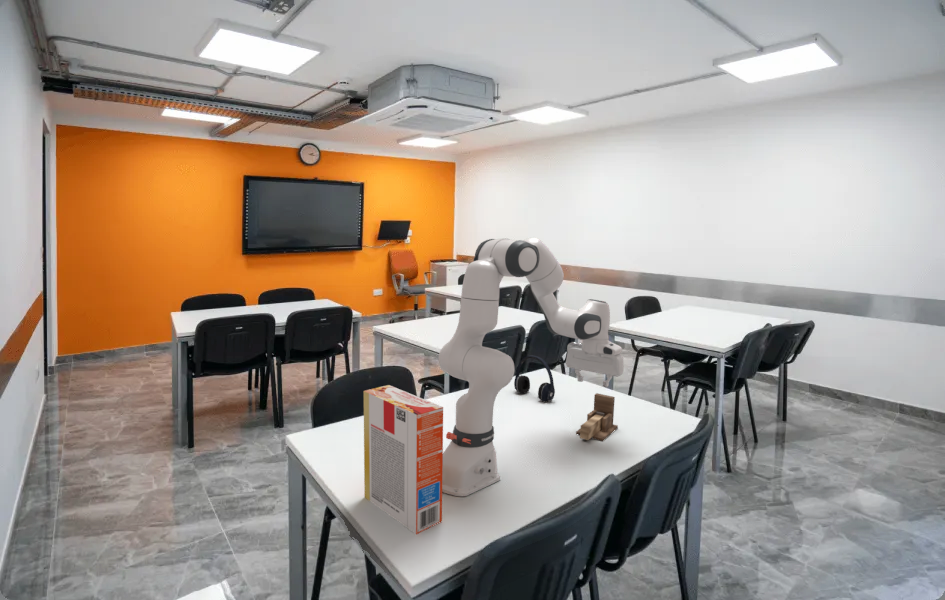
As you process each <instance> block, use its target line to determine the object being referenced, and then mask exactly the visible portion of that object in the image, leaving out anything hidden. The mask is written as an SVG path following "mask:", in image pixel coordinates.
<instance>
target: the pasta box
mask: <svg viewBox="0 0 945 600" xmlns="http://www.w3.org/2000/svg"><path fill="white" fill-rule="evenodd" d="M443 444H444V406H442V405H440V404H437V403H435V402H431V401H429V400H427V399H424V398H422V397H420V396H417V395H414V394H412V393H409V392H408V391H405V390H402V389H399V387H398V388H397V387H395V386H393V385H390V384H387V385H383V386H378V387H375V388H371V389H370V388H369V389H366V390H363V455H364V457H363V458H364V459H363V460H364V461H363V464H364V467H363V468H364V469H363V470H364V471H363V473H364V474H363V475H364V477H363V478H364V498H365V499H366V500H368V501H369V502H370V503H372V504H374V505H375V506H376V507H377V508H379V509H380V510H382V511H383V512H384V513H386V514H387V515H388V516H390V517H391V518H393V519H394V520H395V521H397V522H398V523H400V524H401V525H403V526H404V527H405V528H407V529H408V530H410V532H412V533H414V534H416V535H418V534H420V533H422V532H424V531H425V530H428V529H430V528H432V527H434V526H436V525H438V524H440V523H442V522H441V521H443V520H442V519H443V492H442V467H443V453H444V450H443V449H444V447H443V446H444V445H443ZM439 522H440V523H439ZM437 523H438V524H437ZM435 524H436V525H435ZM433 525H434V526H433ZM431 526H432V527H431ZM429 527H430V528H429Z"/></svg>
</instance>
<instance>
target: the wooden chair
mask: <svg viewBox="0 0 945 600" xmlns="http://www.w3.org/2000/svg"><path fill="white" fill-rule="evenodd" d="M593 397H594V398H593V399H594V400H593V410H592V411H590V412H589V413H587V416H586V421H588V420H589V419H590V418H592V417H593V416H594V415H596V412H601V413H605V415H604V417H603V420H602V429H601V430H600V431H599V432H598V433H596V434H595V435H594V436H593V437H591V438H590V439H592V438H593V440H596V439H597V441H600V442H604V441H605V440H606V439H607V438H608V437H609V436H610V435H612V434H613V433H614V432H615V431H616V430H617V429H618V427H619V426H618V425H617V424H614V417H615V416H614V414H615V398H616V397H615V396H611V395H607V394H602V393H598V392H596V393H595V394H594V396H593ZM614 430H615V431H614ZM613 431H614V432H613ZM612 432H613V433H612ZM611 433H612V434H611ZM577 434H578V435H577ZM575 435H577V436H580V428H579V429H577V430H576V431H575ZM604 439H605V440H604ZM603 440H604V441H603Z"/></svg>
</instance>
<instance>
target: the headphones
mask: <svg viewBox="0 0 945 600" xmlns="http://www.w3.org/2000/svg"><path fill="white" fill-rule="evenodd" d="M528 359H535V360H537V361H538V362H540V363H541V364H542V366H543V367H545V370H546V371H547V374H548V378H549V382H542V383H541V384H540V386H539V387H538V391H537V398H538V399H539V400H540V401H541V402H546V401H547V402H548V401H550V402H551V401H552V400H553V399H554V398H555V393H556V389H555V385H554V384H555V383H554V377H553V374H552V371H551V369H550V367H549V365H548V363H547V362H546V361H545V360H544V359H543V358H542V357H540V356H537V355H531V354H530V355H527V356H525V357H523V358H522V359H521V360H520V362H519V363H518V365H517V367H516V373H515V377H514V381H513V382H514V383H513V385H514V389H515V390H516V392H517V394H521V395H522V394H527V393H529V391H530V390H531V383H530V382H531V381H530V378H529V377H528V376H527V375H520V371H521V367H522V365H523V363H525V361H527V360H528Z"/></svg>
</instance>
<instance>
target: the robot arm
mask: <svg viewBox="0 0 945 600" xmlns="http://www.w3.org/2000/svg"><path fill="white" fill-rule="evenodd" d="M564 276H565V274H564V270H563V268H562V265H561V264H560V263H559V261H558V259H557V258H556V257H555V255H554V253H553V252H552V251H551V250H550V248H549V247H548V246H547V245H546V244H545V243H544V242H543V241H542V240H541V239H539V238H538V237H534V236H533V237H527V238H525V239H523V240H522V239H520V240H515V239H510V238H489V239H486V240H484V241H482V242H480V244H479V245H478V246H477V248H476V250H475V253H474V257H473V261H472V262H470V263H469V264H468V265H467V267H466V270H465V273H464V275H463V282H462V287H461V298H460V307H459V316H458V317H459V318H458V324H457V327H456V330H455V332H454V334H453V336H452V338H451V339H450V340H449V341H448V342H446V343H445V344H444V345H443V346H442V347H441V349H440V351H439V353H438V366H439V368H440V370H441V371H444V373H447V374H448V375H449V376H452V377H453V378H456V379H459V380H462V381H466V382H468V391H467V392H466V393H464V394H462V395H461V396H460V397H459V398H458V399H457V400H456V403H455V425H454V427H453V430H452V432H450V431H447V433H446V435H445V437H446V439H447V440H450V442H449V444H447V445H448V446H447V447H446V448H445V449H444V450H443V467H442V493H444V494H448V495H449V496H454V497H455V496H456V497H467V496H469V495H471V494H473V493H475V492H477V491H481V490H482V489H484V488H486V487H488V486H490V485H493V484H494V483H497V482H499V481H500V480H501V475H500V474H499V472H498V463H497V459H498V458H497V451H496V448H495V446H494V442H493V440H495V439H494V438H495V437H494V436H495V431H494V430H495V427H494V426H493V422H494V421H493V419H494V406H495V401H496V397H497V395H498V394H499V393H500V391H501V390H503V389H504V388H505V387H507V386H508V385H509V384H510V383H511V381H512V380H513V378H514V375H515V363H514V360H513V359H512V357H511V355H510V356H509V354H506V353H505V352H502V351H501V350H498V349H495V348H491V347H487V346H483V341H484V338H485V336H486V334H488V333H490V332H492V331H493V330H495V328H496V327H497V325H498V321H499V320H498V317H499V316H498V315H499V305H500V304H499V303H500V284H501V282H502V280H503V278H504V277H509V278H510V277H512V278H513V277H515V278H523V277H525V278H526V279H527V281H528V283H529V285H530V290H531V291H530V292H531V293H532V295H533V297H534V299H535V301H536V302H537V304H538V306H539V308H540V310H541V313H542V314H543V317H544V321H545V324H546V327H547V329H548V331H549V332H550V333H551V334H553V335H556V336H564V337H568V338H571V339H576V340H582V342H575V341H571V342H569V343H568V344H567V348H566V351H567V354H566V359H565V366H566V367H567V368H569V369H574V372H575V374H576V377H577V382H580V383H582V382H584V376H583V375H582V374H581V371H585V372H591V373H597V374H601V375H606V376H605V377H606V380H603V382H602V387H603V388H608V387H609V385H610V381H611V380H612V379H613V377H621V375H623V374H624V358H623V356H622V354H621V353H622V352H623V348H622V346H620V345H618V344H617V343H614V342H612V341H610V340H609V329H610V328H609V327H610V325H611V323H610V322H611V315H610V314H611V312H610V311H611V309H610V306H609V304H608V302H606V301H603V300H598V299H592V298H591V299H587V300H586V302H585V303H584V305H582V306H581V307H580V308H578V309H573V308H570V307H569V308H568V307H565V306H562V305H561V304H559V303H558V300H557V298H556V296H555V295H554V293H555V292H556V291H557V290H558V289H559V288H560V287H561V286H562V284H563V283H564V282H563V281H564Z"/></svg>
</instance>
